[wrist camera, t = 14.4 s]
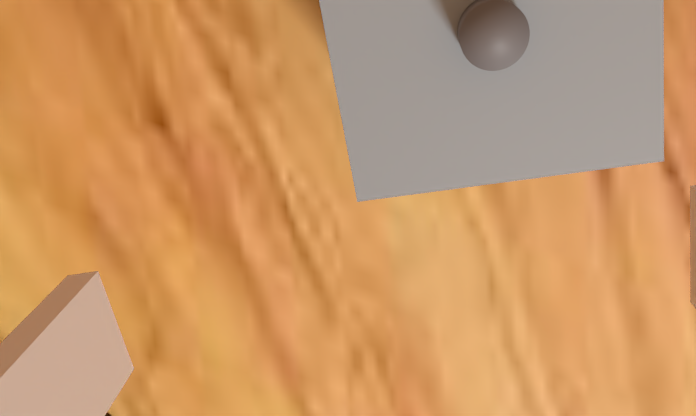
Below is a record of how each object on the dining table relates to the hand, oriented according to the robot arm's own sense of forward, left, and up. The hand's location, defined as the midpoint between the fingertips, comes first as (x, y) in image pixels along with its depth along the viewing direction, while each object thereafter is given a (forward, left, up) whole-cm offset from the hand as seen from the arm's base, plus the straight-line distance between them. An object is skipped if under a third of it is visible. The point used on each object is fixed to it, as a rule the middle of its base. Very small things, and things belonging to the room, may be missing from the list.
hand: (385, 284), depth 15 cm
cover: (+4, +3, -27) cm, 28 cm away
